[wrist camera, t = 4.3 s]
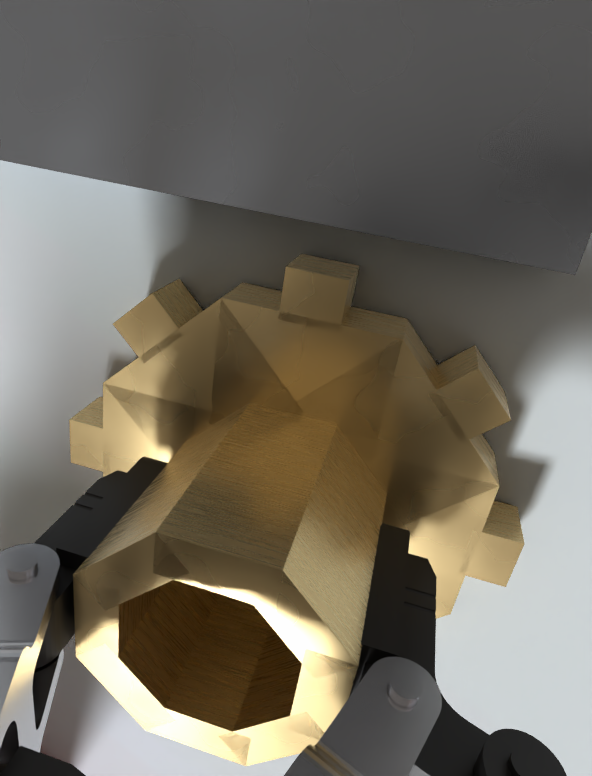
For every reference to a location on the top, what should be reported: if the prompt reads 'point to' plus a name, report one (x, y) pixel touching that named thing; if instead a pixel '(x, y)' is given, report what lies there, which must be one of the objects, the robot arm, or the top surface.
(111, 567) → the gear
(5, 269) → the top surface
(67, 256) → the top surface
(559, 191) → the carrier plate
